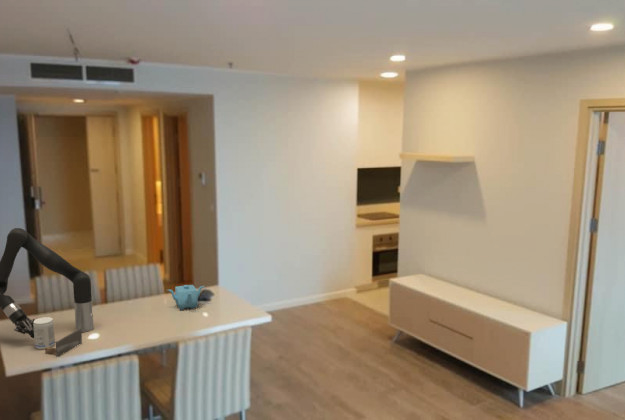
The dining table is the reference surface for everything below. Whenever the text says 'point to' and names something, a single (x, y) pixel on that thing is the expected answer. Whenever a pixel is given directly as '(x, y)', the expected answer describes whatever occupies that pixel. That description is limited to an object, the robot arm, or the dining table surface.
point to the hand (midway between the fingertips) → (35, 336)
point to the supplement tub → (44, 332)
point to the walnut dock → (66, 343)
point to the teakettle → (186, 296)
